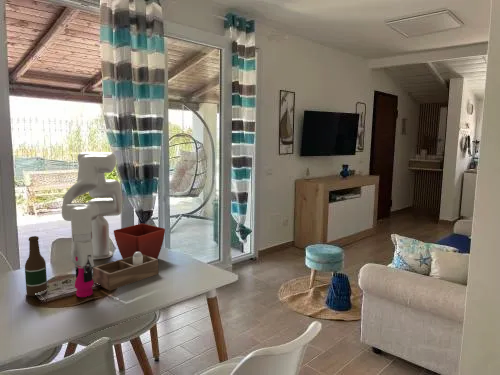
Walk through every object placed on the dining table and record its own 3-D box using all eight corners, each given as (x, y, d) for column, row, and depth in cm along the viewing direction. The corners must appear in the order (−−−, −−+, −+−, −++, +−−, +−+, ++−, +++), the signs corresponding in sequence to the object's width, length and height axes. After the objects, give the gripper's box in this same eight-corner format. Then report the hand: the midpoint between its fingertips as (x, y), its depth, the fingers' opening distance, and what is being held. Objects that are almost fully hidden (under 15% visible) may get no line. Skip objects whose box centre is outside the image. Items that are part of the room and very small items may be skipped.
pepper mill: (75, 299, 150) (73, 251, 147) (74, 292, 156) (72, 246, 153) (94, 296, 153) (93, 249, 150) (93, 289, 159) (91, 244, 156)
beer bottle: (44, 287, 160) (41, 233, 157) (50, 293, 155) (47, 237, 152) (24, 292, 155) (20, 236, 152) (29, 298, 150) (25, 240, 146)
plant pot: (137, 269, 184) (137, 236, 181) (113, 261, 194) (112, 230, 192) (166, 259, 199) (166, 228, 197) (142, 252, 210) (142, 223, 207)
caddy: (93, 284, 164) (92, 267, 163) (141, 269, 184) (141, 253, 183) (109, 292, 156) (109, 274, 155) (158, 275, 176) (157, 259, 175)
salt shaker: (131, 274, 174) (130, 251, 173) (139, 271, 178) (138, 249, 176) (136, 276, 172) (136, 253, 170) (144, 274, 175) (144, 251, 173)
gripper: (62, 234, 153) (64, 276, 156) (84, 242, 143) (86, 287, 145) (80, 231, 159) (82, 271, 162) (102, 238, 149) (103, 282, 151)
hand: (84, 278), depth 153 cm, fingers closed on pepper mill, 5 cm apart
